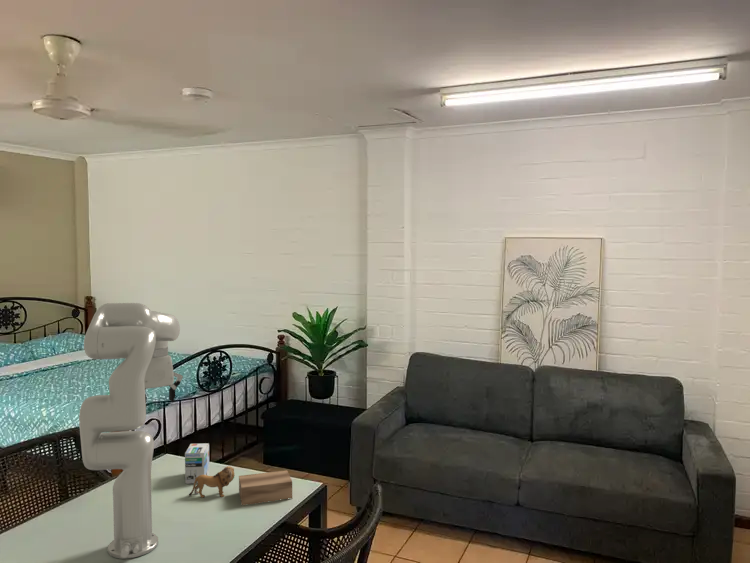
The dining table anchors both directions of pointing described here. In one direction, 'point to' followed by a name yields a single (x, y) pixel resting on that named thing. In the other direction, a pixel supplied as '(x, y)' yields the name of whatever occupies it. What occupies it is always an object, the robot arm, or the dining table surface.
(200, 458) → the light bulb box
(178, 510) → the dining table surface
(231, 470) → the lion figurine
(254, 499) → the walnut block
